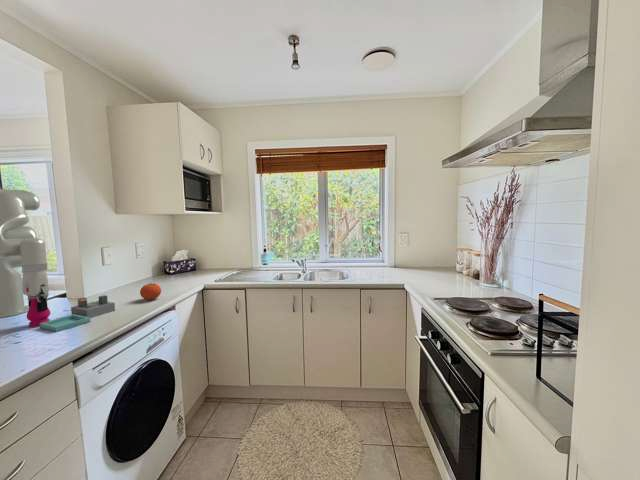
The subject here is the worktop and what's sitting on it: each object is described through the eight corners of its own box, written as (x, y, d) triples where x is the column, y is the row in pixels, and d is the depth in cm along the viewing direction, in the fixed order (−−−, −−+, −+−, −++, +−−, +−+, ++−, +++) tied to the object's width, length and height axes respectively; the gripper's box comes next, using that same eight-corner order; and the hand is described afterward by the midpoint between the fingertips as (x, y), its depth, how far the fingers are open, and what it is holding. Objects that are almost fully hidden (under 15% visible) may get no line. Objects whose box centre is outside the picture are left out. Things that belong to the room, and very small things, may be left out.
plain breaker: (99, 303, 136) (98, 296, 135) (104, 302, 138) (103, 295, 138) (102, 304, 135) (101, 297, 134) (107, 302, 137) (107, 295, 137)
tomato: (151, 302, 151) (150, 284, 150) (135, 301, 153) (134, 283, 152) (165, 297, 161) (165, 280, 160) (150, 296, 163) (149, 279, 162)
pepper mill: (49, 320, 125) (46, 276, 124) (52, 324, 120) (48, 278, 119) (26, 325, 120) (22, 279, 118) (28, 329, 115) (23, 281, 114)
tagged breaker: (78, 306, 132) (77, 298, 132) (84, 304, 134) (83, 297, 134) (81, 306, 131) (80, 299, 131) (87, 305, 133) (87, 297, 133)
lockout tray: (40, 328, 116) (39, 323, 116) (74, 318, 127) (73, 314, 127) (56, 332, 112) (56, 327, 112) (90, 322, 123) (90, 317, 123)
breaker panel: (71, 315, 131) (71, 306, 131) (99, 307, 143) (99, 299, 142) (87, 318, 127) (86, 309, 127) (114, 310, 138) (114, 302, 138)
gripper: (12, 268, 118) (15, 310, 119) (34, 271, 111) (37, 315, 113) (35, 265, 125) (38, 305, 126) (57, 268, 118) (60, 309, 120)
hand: (38, 309), depth 119 cm, fingers open, 5 cm apart
